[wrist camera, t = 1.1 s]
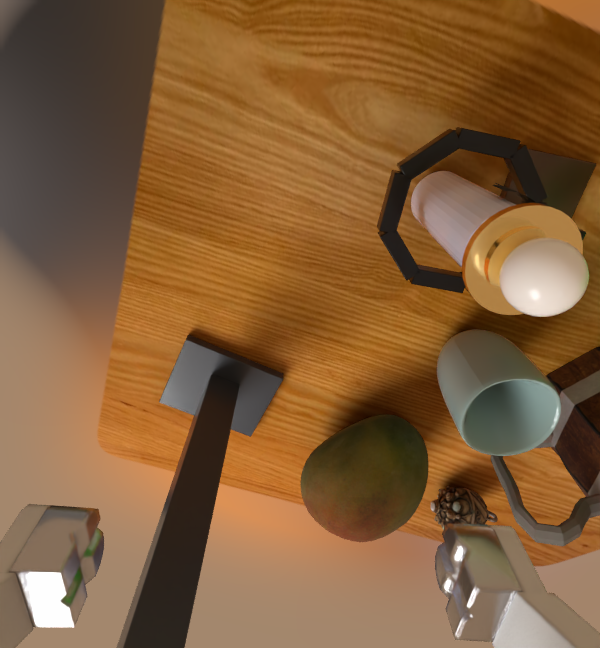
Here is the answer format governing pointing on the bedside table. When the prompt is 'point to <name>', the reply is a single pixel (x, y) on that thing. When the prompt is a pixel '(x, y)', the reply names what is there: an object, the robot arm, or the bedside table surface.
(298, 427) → the bedside table surface
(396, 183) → the ring stand
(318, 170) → the bedside table surface
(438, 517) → the pendant
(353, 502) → the fruit
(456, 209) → the perfume bottle
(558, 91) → the bedside table surface
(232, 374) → the pedestal tray stand
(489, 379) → the cup
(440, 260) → the bedside table surface
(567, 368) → the mug
